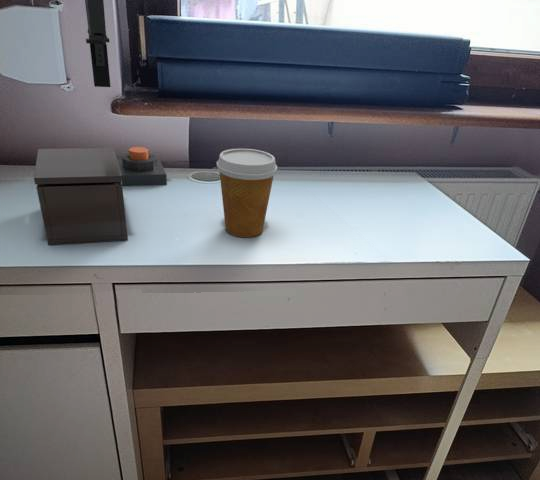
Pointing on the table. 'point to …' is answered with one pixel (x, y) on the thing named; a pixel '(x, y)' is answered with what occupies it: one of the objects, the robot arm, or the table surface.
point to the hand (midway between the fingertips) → (102, 85)
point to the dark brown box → (83, 212)
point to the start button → (138, 153)
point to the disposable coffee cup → (245, 189)
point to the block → (142, 171)
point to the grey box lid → (76, 166)
